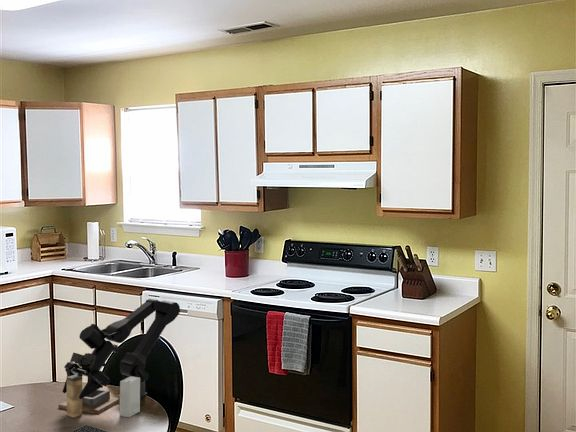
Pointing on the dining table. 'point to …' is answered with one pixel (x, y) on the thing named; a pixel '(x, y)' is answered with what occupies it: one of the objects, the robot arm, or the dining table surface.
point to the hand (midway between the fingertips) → (71, 395)
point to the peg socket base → (95, 401)
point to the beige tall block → (74, 395)
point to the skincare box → (129, 396)
